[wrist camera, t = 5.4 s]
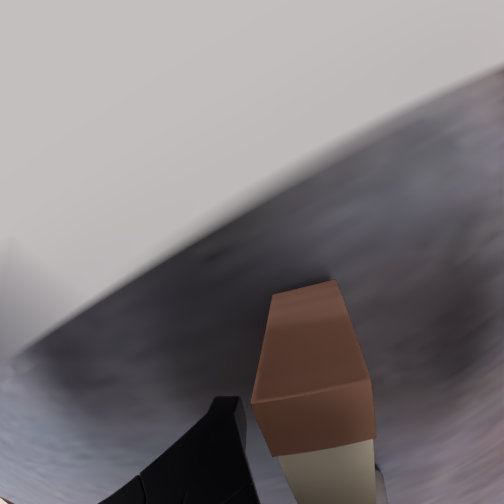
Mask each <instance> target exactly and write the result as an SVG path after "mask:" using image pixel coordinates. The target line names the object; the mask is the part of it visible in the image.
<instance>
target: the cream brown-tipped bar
mask: <svg viewBox="0 0 504 504" xmlns="http://www.w3.org/2000/svg"><path fill="white" fill-rule="evenodd" d="M250 405H251V407H252V409H253V412H254V414H255V417H256V419H257V422H258V424H259V426H260V429H261V431H262V434H263V436H264V438H265V441H266V443H267V445H268V448H269V450H270V452H271V454H272V457H275V456H277V458H278V460H279V463H280V465H281V467H282V469H283V472H284V474H285V476H286V479H287V481H288V483H289V485H290V488H291V490H292V492H293V494H294V497H295V499H296V501H297V503H298V504H388V500H387V494H386V489H385V484H384V479H383V475H382V474H381V473H380V472H379V471H377V470H375V461H374V446H373V439H374V438H376V425H375V413H374V402H373V393H372V384H371V378H370V375H369V372H368V369H367V366H366V363H365V360H364V357H363V354H362V351H361V348H360V345H359V342H358V339H357V337H356V334H355V331H354V328H353V325H352V322H351V320H350V317H349V314H348V311H347V309H346V306H345V303H344V300H343V298H342V295H341V292H340V290H339V287H338V285H337V282H336V279H334V280H331V281H327V282H323V283H319V284H315V285H311V286H307V287H303V288H299V289H294V290H290V291H286V292H282V293H278V294H273V295H272V301H271V306H270V311H269V316H268V321H267V326H266V331H265V336H264V341H263V346H262V351H261V355H260V360H259V365H258V370H257V375H256V379H255V384H254V389H253V393H252V398H251V403H250Z"/></svg>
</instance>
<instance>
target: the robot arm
mask: <svg viewBox="0 0 504 504" xmlns="http://www.w3.org/2000/svg"><path fill="white" fill-rule="evenodd" d="M246 428H247V423H246V416H245V412H244V408H243V404H242V400H241V398H240V396H217V397H215V398H214V399H213V401H212V404H211V406H210V408H209V410H208V412H207V413H206V414H205V415H204V416H203V417H202V418H201V419H200V420H199V421H198V422H197V423H196V424H195V425H194V426H193V427H191V428H190V429H189V430H188V431H187V432H186V433H185V434H184V435H183V436H182V437H181V438H179V439H178V440H177V441H176V442H175V443H174V444H173V445H172V446H171V447H169V448H168V449H167V450H166V451H165V452H164V453H163V454H162V455H160V456H159V457H158V458H157V459H156V460H155V461H153V462H152V463H151V464H150V465H149V466H148V467H146V468H145V469H144V470H143V471H142V472H140V476H139V475H137V476H135V477H134V478H133V479H132V480H131V481H129V482H128V483H127V484H126V485H124V486H123V487H122V488H120V489H119V490H118V491H116V492H115V493H114V494H112V495H111V496H109V497H108V498H106V499H105V500H103V501H101V502H100V503H98V504H261V503H260V500H259V497H258V494H257V490H256V487H255V484H254V480H253V477H252V473H251V470H250V467H249V463H248V460H247V456H246V452H245V450H246Z"/></svg>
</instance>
